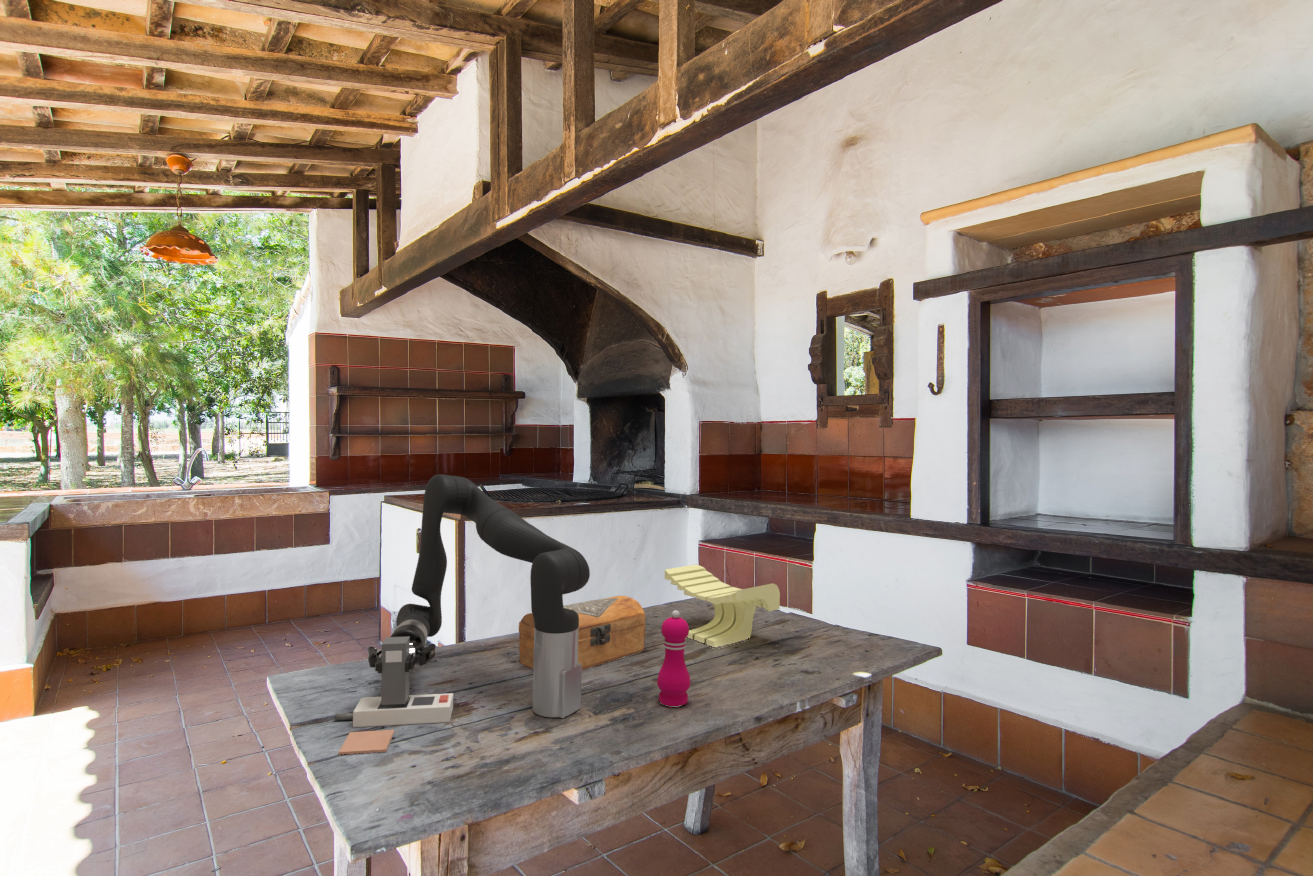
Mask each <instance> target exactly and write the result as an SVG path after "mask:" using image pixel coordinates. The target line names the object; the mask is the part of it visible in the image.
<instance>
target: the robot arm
mask: <svg viewBox="0 0 1313 876" xmlns="http://www.w3.org/2000/svg"><path fill="white" fill-rule="evenodd" d="M444 514H452V515H453V514H455V515H460V516H463V517H466V518H467V519H469V520H470V521H472V522H474V524H475V530H476V533H477V535H478V537H479V538H480V540H481V541H482V542H484V543H485V544H486V545H487V546H489V547H490V548H492V549H493V550H494V551H496V552H497V553H499V554H501V555H504V556H506V557H508V558H512V559H516V560H520V561H524V562H527V563H531V567H530V568H531V569H530V579H529V580H530V602H531V603H530V604H531V606H530V608H531V609H530V610H531V613H532V614H533V618H534V664H533V669H532V671H533V673H532V677H533V678H532V712H533V713H535V714H536V715H538V716H540V717H545V718H561V719H564V718H567V717H568V716H570V715H572V714H573V713H575V712H577V711H579V710H580V709H581V708H582V678H583V677H582V671H583V670H582V664H581V663H578V634H579V616H578V613H577V612H575V611H573V610H570V609H567V608H564V607H563V606H564V599H563V597H564V595H567V594H570V593H574V592H576V591H580V590H581V589H583V588H584V587H585V586H587V583H588V582H589V580H590V575H591V572H590V566H589V563H588V561H587V560H586V558H585V557H584V555H583V554H582V553H581V552H579V551H578V550H577V549H575V548H573V547H572V546H569V545H567V544H565V543H563V542H561V541H559V540H557V539H554V538H552V537H551V536H549V535H547V534H546V533H544V532H543V531H542V530H540V529H539V528H538V527H535V525H532V524H531V523H530V522H528V521H526V520H525V519H524V518H522V517H521V516H520V515H518V514H516V513H515V512H513V510H511V509H509V508H507V507H506V506H504V505H502V503H501V504H500V503H499V502H498V501H496V500H495V499H492V498H491V497H489V495H487V494H486V493H485V492H484V491H483V490H482V489H480V488H479V487H478V486H477V485H476V484H475V483H474V482H473V481H472V480H470V479H469V478H466V477H464V476H457V475H450V474H449V475H448V474H435V475H433V476H432V477H431V478H430V479H429V481H427V484H426V487H425V491H424V496H423V503H422V516H421V517H422V518H421V529H420V545H419V546H420V547H419V552H418V553H419V555H418V558H417V564H416V568H415V571H414V572H415V573H414V576H413V581H412V585H411V592H412V594H413V595H415V596H417V597H419V598H422V599H423V600H425V601H427V603H428V605H429V606H428V605H421V604H416V603H406V604H404V605H403V606H401V608H399V610H398V613H397V615H396V620H395V621H396V623H395V624H396V628H395V629H394V630H393V632H392V634H390V636H389V637H408V636H410V653H409V655H410V656H408V657H407V659H406V661H405V672H409V673H410V672H411V671H412V670H413V669H414V668H415V667H416V666H417V664H419V666H424V665H426V664H427V663H429V662H430V661H431V660H432V659H434V658H435V657H436V644H434V643H431V644H429V645H427V642H428V638H429V637H431V638H432V637H434V636H436V635H437V634H438V633H439V631H440V629H441V627H442V624H443V622H442V621H443V617H442V615H443V614H442V590H443V585H444V582H445V577H446V572H447V567H448V557H447V552H446V549H445V547H444V543H443V539H442V533H441V525H442V524H441V523H442V518H443V516H444ZM367 660H368V665H369V667H370V668H374V671H375V672H377V674H382V648H381V649H378V648H377V647H375V646H373V645H371V646H369V647H367ZM410 670H411V671H410ZM566 716H567V717H566Z"/></svg>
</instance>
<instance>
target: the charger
mask: <svg viewBox="0 0 1313 876" xmlns="http://www.w3.org/2000/svg"><path fill="white" fill-rule="evenodd" d="M381 649H382V673H381V692H380V695H381V696H380V697H381V705H391V704H405V703H406V701H407V699H408V696H409V695H410V671H409V672H405V661H406V659H407V657H408V656H410V655H409V653H410V636H408V637H390V636H386V637H385V638H384V640H383V642H382V643H381Z"/></svg>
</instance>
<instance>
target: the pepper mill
mask: <svg viewBox="0 0 1313 876" xmlns="http://www.w3.org/2000/svg"><path fill="white" fill-rule="evenodd" d="M680 613H681V612H679V610H676V609H675V610H673V611H672V612H671V617H668V618H666V619H665V620H664V621H663V622H662V624H661V628H660V629H661V631H660V632H661V634H662V636H663V637H664V638H663V641H662V642H663V644H662V645H663V648H664V649H665V650H664V660H663V662H662V665H661V667H660V669H659V672H658V674H657V681H656V683H657V687H658V689H659V690H660V692H659V694H658V702H659V701H660V702H661V703H662V704H664V705H668V706H679V705H684V704H686V703H687V702H688V700H689V698H688V697H689V696H688V695H689V694H688V690H689V689H690V688H691V677H690V673H689V670H688V668H687V666H686V665H687V664H686V662H685V648H687V640H686V639H687V638H686V637H687V636H688V634H689V630H690V628H689V624H688V622H687V621H686V619H684V618H682V617H680V615H681V614H680ZM688 703H689V702H688ZM688 703H687V704H688ZM662 704H661V705H662ZM687 704H686V705H687Z"/></svg>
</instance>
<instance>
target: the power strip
mask: <svg viewBox="0 0 1313 876" xmlns="http://www.w3.org/2000/svg"><path fill="white" fill-rule="evenodd" d="M453 710H454V693H450V692H449V693H448V692H447V693H430V694H429V693H428V694H409V696H408V699H407V701H406V703H405V704H391V705H381V696H368V697H366V696H365V697H361V698H360V699H359V702H358V703H357V705H356V707H355V708H354V710H353V712H348V713H346V712H345V713H343V712H342V713H335V716H334V720H335V721H349V720H350V721H351V720H352V728H360V727H380V726H381V727H382V726H398V725H399V726H400V725H419V724H421V725H422V724H434V723H435V724H436V723H438V724H439V723H450V721H451V716H452V713H453Z"/></svg>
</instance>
